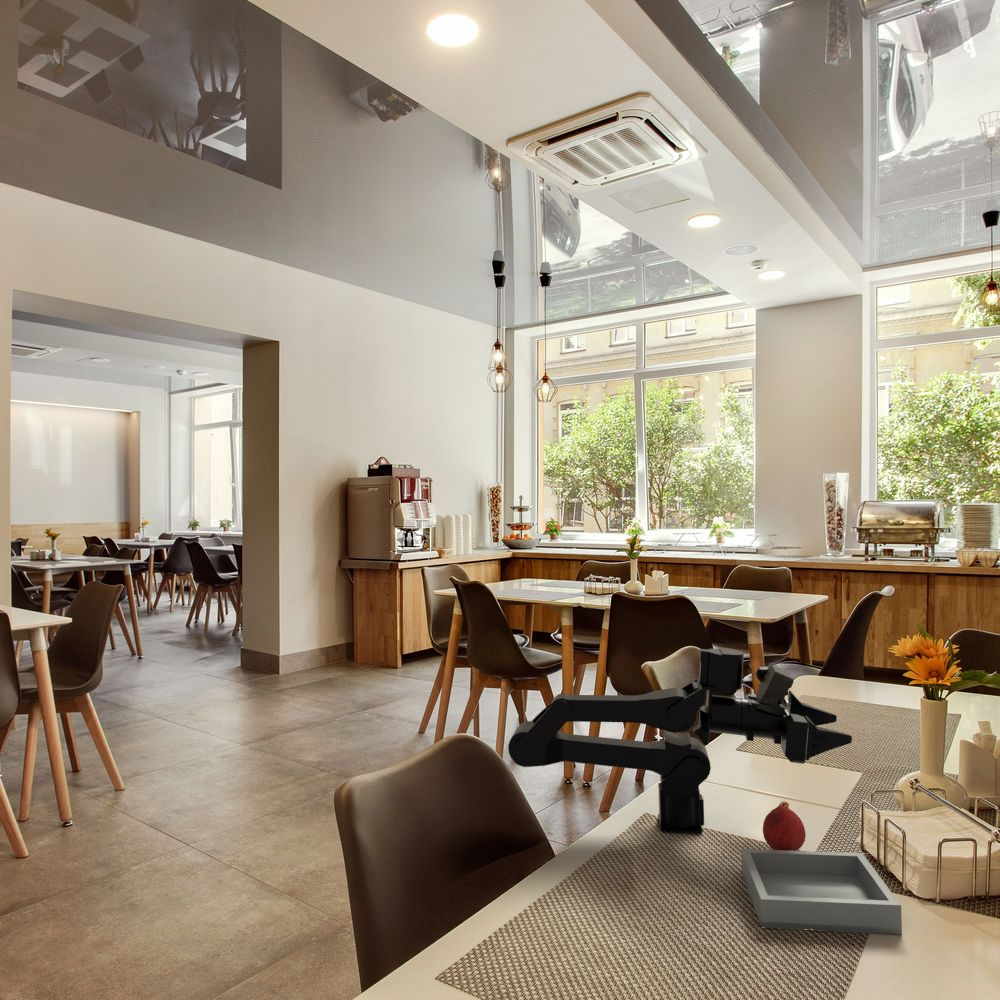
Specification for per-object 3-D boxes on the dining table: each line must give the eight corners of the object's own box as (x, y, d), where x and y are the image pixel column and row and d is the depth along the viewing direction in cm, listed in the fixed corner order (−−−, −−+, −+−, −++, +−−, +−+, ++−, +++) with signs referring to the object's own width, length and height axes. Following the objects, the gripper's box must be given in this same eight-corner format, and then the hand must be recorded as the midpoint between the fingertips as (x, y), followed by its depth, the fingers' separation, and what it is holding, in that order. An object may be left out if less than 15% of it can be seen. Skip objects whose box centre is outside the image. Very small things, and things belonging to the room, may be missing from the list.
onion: (785, 869, 109) (784, 812, 109) (754, 853, 114) (753, 799, 114) (814, 860, 111) (813, 804, 111) (783, 845, 116) (781, 791, 117)
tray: (761, 928, 94) (760, 899, 94) (741, 874, 108) (741, 848, 108) (902, 935, 92) (901, 905, 92) (863, 879, 105) (862, 853, 105)
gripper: (751, 684, 113) (865, 696, 111) (736, 652, 132) (833, 661, 129) (745, 758, 114) (858, 772, 111) (731, 715, 132) (827, 726, 130)
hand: (843, 728), depth 120 cm, fingers open, 9 cm apart
